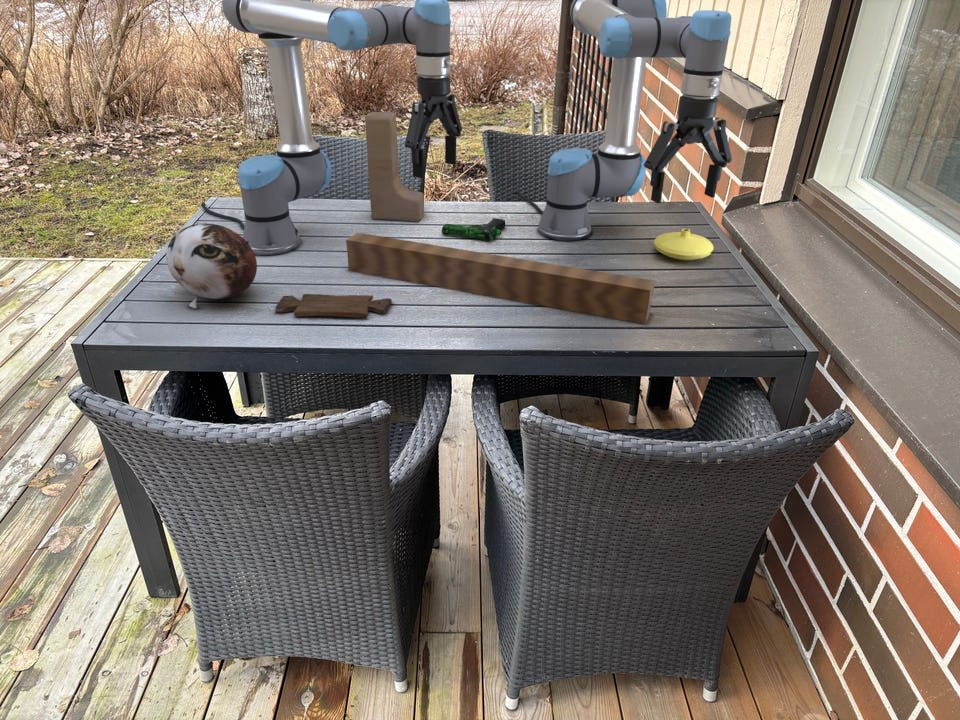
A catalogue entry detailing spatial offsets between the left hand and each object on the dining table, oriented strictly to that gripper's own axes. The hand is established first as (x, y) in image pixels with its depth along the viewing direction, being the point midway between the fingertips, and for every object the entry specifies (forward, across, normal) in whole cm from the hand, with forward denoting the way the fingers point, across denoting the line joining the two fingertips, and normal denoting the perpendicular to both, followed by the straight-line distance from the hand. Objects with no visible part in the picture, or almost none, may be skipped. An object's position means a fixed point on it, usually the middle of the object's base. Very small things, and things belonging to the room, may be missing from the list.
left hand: (435, 170), depth 171 cm
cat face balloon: (+26, -40, +35) cm, 59 cm away
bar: (+26, -3, -18) cm, 32 cm away
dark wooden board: (+26, -31, +8) cm, 41 cm away
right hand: (0, +12, -56) cm, 58 cm away
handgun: (+26, +29, +6) cm, 39 cm away
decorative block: (+26, +27, +32) cm, 50 cm away
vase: (+26, +45, -50) cm, 72 cm away
